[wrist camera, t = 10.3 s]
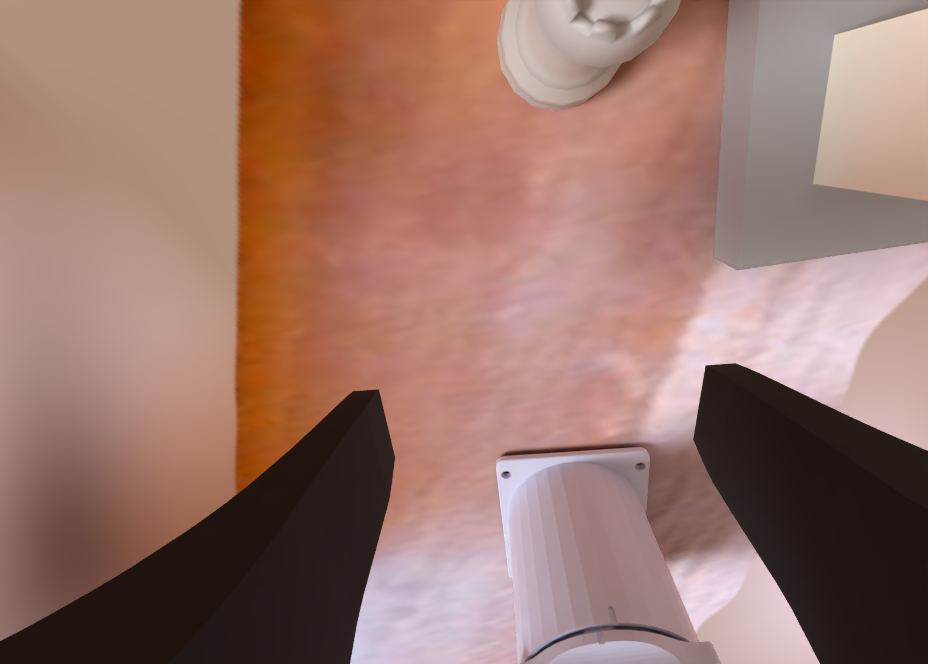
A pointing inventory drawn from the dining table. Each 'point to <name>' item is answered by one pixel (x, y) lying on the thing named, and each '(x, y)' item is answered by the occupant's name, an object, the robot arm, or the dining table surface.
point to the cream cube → (877, 110)
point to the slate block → (794, 140)
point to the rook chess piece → (574, 44)
